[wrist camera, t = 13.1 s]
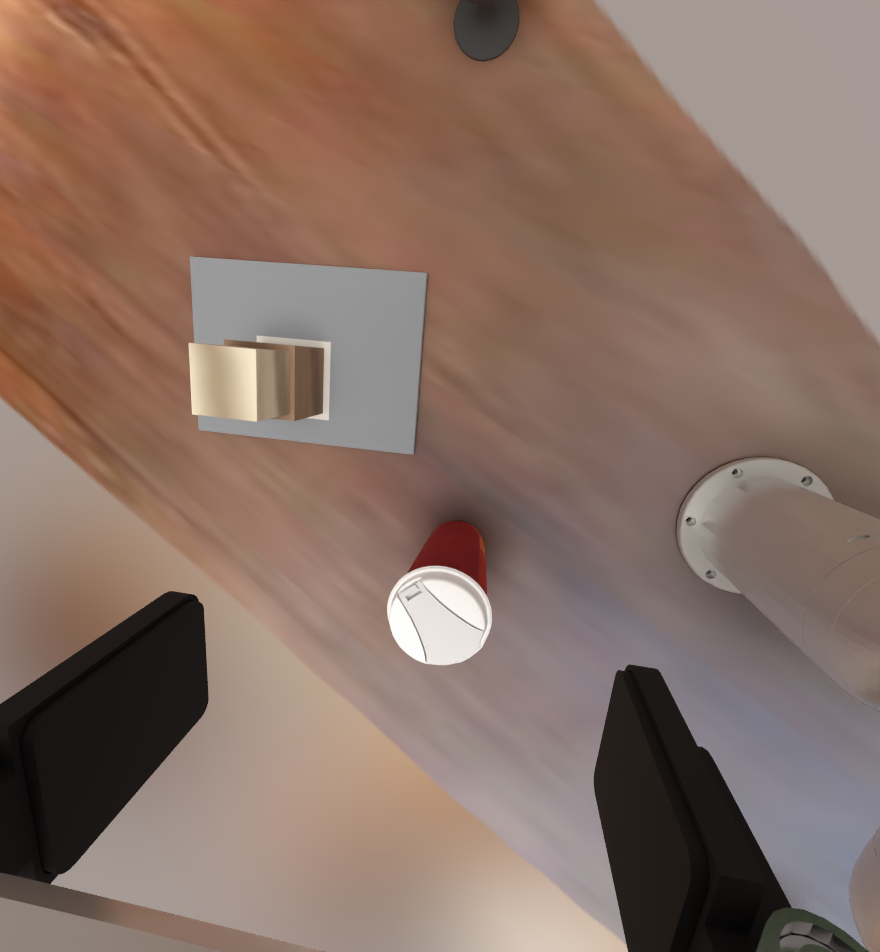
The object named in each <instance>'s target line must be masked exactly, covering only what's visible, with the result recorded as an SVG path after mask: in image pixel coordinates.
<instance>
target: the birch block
mask: <svg viewBox="0 0 880 952" xmlns="http://www.w3.org/2000/svg"><path fill="white" fill-rule="evenodd" d="M189 359H190V379H191V400H192V414H195V415H203V416H212V417H221V418H229V419H238V420H247V421H255V422H258V421H262V420H266V419H271V418H275V417H279V416H284V415H288V414H289V374H290V351H282V350H271V349H261V348H250V347H240V346H229V345H214V344H200V343H189Z"/></svg>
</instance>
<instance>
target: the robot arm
mask: <svg viewBox="0 0 880 952" xmlns="http://www.w3.org/2000/svg"><path fill="white" fill-rule="evenodd" d="M734 469H735V472H734V473H732V472H733V470H734ZM802 478H803V479H802ZM689 517H690V519H689V520H687V521H686V519H687V518H689ZM676 534H677V541H678V546H679V548H680V551H681V554H682V556H683V558H684V559H685V561H686V562H687V564H688V565H689V566H690V567H691V568H692V570H693V571H694V572H695V573H696V574H697V575H698V576H699V577H701V578H702V579H703V580H704V581H706V582H707V583H709V584H711V585H713V586H715V587H717V588H719V589H722V590H725V591H728V592H732V593H739V594H743V595H744V596H745V597H746V598H747V599H748V600H749V601H750V602H751V603H752V604H753V605H754V606H755V607H757V608H758V609H759V610H760V611H761V612H762V613H763V614H764V615H765V616H766V617H767V618H768V619H769V620H770V621H771V622H772V623H773V624H774V625H775V626H776V627H777V628H778V629H779V630H780V631H781V632H782V633H783V634H784V635H786V636H787V637H788V638H789V639H790V640H791V641H792V642H793V643H794V644H795V645H796V646H797V647H798V648H799V649H800V650H801V651H802V652H803V653H804V654H805V655H806V656H807V657H808V658H809V659H810V660H811V661H812V662H813V663H815V664H816V665H817V666H818V667H819V668H820V669H821V670H822V671H823V672H824V673H825V674H826V675H827V676H829V677H830V678H831V679H832V680H833V681H834V682H835V683H836V684H837V685H838V686H839V687H841V688H842V689H843V690H844V691H845V692H847V693H848V694H849V695H851V696H852V697H854V698H855V699H857V700H858V701H860V702H862V703H863V704H865V705H867V706H869V707H871V708H873V709H875V710H877V711H880V519H878V518H875V517H873V516H870V515H868V514H866V513H863V512H861V511H858V510H856V509H854V508H851V507H849V506H846V505H844V504H841V503H839V502H837V501H834V499H833V496H832V495H831V493H830V491H829V490H828V488H827V486H826V485H825V484H824V483H823V482H822V481H821V480H820V479H819V478H818V477H817V476H816V475H815V474H813V473H812V472H810V471H809V470H807V469H806V468H804V467H802V466H799V465H797V464H794V463H792V462H789V461H785V460H782V459H778V458H769V457H754V458H745V459H741V460H737V461H733V462H731V463H728V464H726V465H723V466H721V467H719V468H717V469H716V470H714V471H712V472H711V473H709V474H708V475H706V476H705V477H704V478H703V479H702V480H700V481H699V482H698V483H697V484H696V485H695V486H694V487H693V489H692V490H691V491H690V493H689V494H688V495H687V497H686V499H685V500H684V502H683V504H682V506H681V508H680V512H679V515H678V519H677V529H676ZM707 571H708V572H707ZM207 704H208V681H207V663H206V642H205V625H204V608H203V605H202V604H201V603H200V602H199V601H198V598H197V597H196V596H195V595H192V594H186V593H180V592H174V591H171V592H170V591H169V592H167V593H165V594H163V595H162V596H160V597H159V598H157V599H156V600H154V601H153V602H151V603H150V604H148V605H147V606H145V607H144V608H142V609H141V610H139V611H138V612H136V613H135V614H133V615H132V616H131V617H129V618H128V619H126V620H124V621H123V622H122V623H120V624H118V625H117V626H116V627H114V628H113V629H111V630H110V631H108V632H107V633H106V634H104V635H102V636H101V637H99V638H98V639H96V640H95V641H93V642H92V643H90V644H89V645H87V646H86V647H84V648H83V649H81V650H80V651H78V652H77V653H75V654H74V655H72V656H71V657H70V658H68V659H67V660H65V661H64V662H62V663H61V664H59V665H58V666H56V667H55V668H53V669H52V670H50V671H49V672H47V673H46V674H44V675H43V676H41V677H40V678H38V679H37V680H36V681H34V682H33V683H31V684H30V685H28V686H26V687H25V688H24V689H22V690H21V691H19V692H18V693H16V694H15V695H13V696H12V697H10V698H9V699H7V700H6V701H4V702H3V703H1V704H0V952H324V951H320V950H316V949H312V948H307V947H304V946H300V945H296V944H291V943H288V942H284V941H279V940H275V939H272V938H267V937H264V936H260V935H256V934H252V933H248V932H244V931H240V930H235V929H232V928H228V927H224V926H219V925H215V924H211V923H207V922H203V921H199V920H195V919H191V918H187V917H183V916H179V915H175V914H171V913H167V912H163V911H159V910H155V909H151V908H147V907H142V906H138V905H134V904H130V903H126V902H122V901H118V900H113V899H109V898H105V897H101V896H97V895H93V894H88V893H84V892H80V891H76V890H72V889H68V888H64V887H59V886H55V885H51V882H52V881H53V880H54V879H55V878H56V877H57V876H58V874H63V873H65V872H66V871H68V870H69V869H70V868H71V867H72V866H73V865H74V864H75V863H76V862H77V861H78V860H79V859H80V858H81V856H82V855H83V854H84V853H85V852H86V851H87V849H88V848H89V847H90V846H91V845H92V844H93V842H94V841H95V840H96V839H97V838H98V836H99V835H100V834H101V833H102V832H103V831H104V830H105V828H106V827H107V826H108V825H109V824H110V823H111V821H112V820H113V819H114V818H115V817H116V816H117V814H118V813H119V812H120V811H121V810H122V809H123V808H124V806H125V805H126V804H127V803H128V802H129V801H130V799H131V798H132V797H133V796H134V794H136V792H137V791H138V790H139V789H140V788H141V787H142V785H143V784H144V783H145V782H146V781H147V780H148V778H149V777H150V776H151V775H152V774H153V773H154V772H155V770H156V769H157V768H158V767H159V766H160V764H161V763H162V762H163V761H164V760H165V759H166V758H167V756H168V755H169V754H170V753H171V751H173V749H174V748H175V747H176V746H177V745H178V744H179V742H180V741H181V740H182V739H183V738H184V737H185V735H186V734H187V733H188V732H189V731H190V729H191V728H192V727H193V726H194V725H195V724H196V723H197V722H198V720H199V719H200V718H201V717H202V715H203V714H204V712H205V710H206V707H207ZM594 790H595V796H596V801H597V805H598V810H599V815H600V820H601V824H602V829H603V834H604V839H605V843H606V848H607V853H608V858H609V862H610V867H611V872H612V877H613V881H614V886H615V891H616V896H617V900H618V905H619V910H620V915H621V919H622V924H623V929H624V934H625V938H626V943H627V948H628V952H880V827H879V828H878V829H877V830H876V832H875V834H874V836H873V837H872V838H871V840H870V841H869V842H868V844H867V845H866V847H865V848H864V850H863V852H862V853H861V855H860V856H859V858H858V860H857V861H856V864H855V866H854V869H853V872H852V875H851V880H850V905H851V910H852V914H853V918H854V921H855V924H856V927H857V930H858V932H859V934H860V936H861V938H862V941H863V943H864V945H865V947H866V949H867V950H866V949H865V948H864V947H863V946H862V945H860V944H859V943H858V942H857V941H856V940H855V939H853V938H852V937H851V936H850V935H849V934H848V933H846V932H845V931H844V930H842V929H840V928H839V927H837V926H836V925H834V924H832V923H831V922H829V921H828V920H826V919H825V918H823V917H820V916H818V915H815V914H813V913H811V912H808V911H806V910H803V909H795V908H792V907H791V906H790V904H789V902H788V900H787V898H786V896H785V894H784V892H783V890H782V889H781V887H780V885H779V883H778V881H777V879H776V877H775V875H774V873H773V871H772V870H771V868H770V866H769V864H768V862H767V860H766V858H765V856H764V854H763V853H762V851H761V849H760V847H759V845H758V843H757V841H756V839H755V837H754V836H753V834H752V832H751V830H750V828H749V826H748V824H747V822H746V820H745V818H744V817H743V815H742V813H741V811H740V809H739V807H738V805H737V803H736V801H735V800H734V798H733V796H732V794H731V792H730V790H729V788H728V786H727V784H726V783H725V781H724V779H723V777H722V775H721V773H720V771H719V769H718V767H717V765H716V764H715V762H714V760H713V758H712V757H711V755H710V754H709V752H708V751H707V750H706V749H704V748H703V747H699V746H697V744H696V742H695V740H694V738H693V736H692V734H691V732H690V730H689V728H688V726H687V724H686V722H685V721H684V719H683V717H682V715H681V713H680V711H679V709H678V707H677V705H676V703H675V701H674V699H673V697H672V695H671V693H670V691H669V689H668V687H667V685H666V683H665V681H664V679H663V677H662V675H661V673H660V672H659V670H657V669H654V668H648V667H642V666H635V665H627V667H626V669H625V671H621V670H618V671H617V673H616V676H615V680H614V684H613V689H612V694H611V698H610V703H609V707H608V712H607V717H606V721H605V726H604V730H603V735H602V739H601V744H600V749H599V753H598V758H597V762H596V767H595V772H594Z"/></svg>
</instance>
